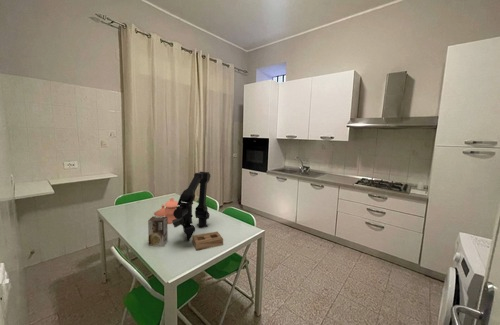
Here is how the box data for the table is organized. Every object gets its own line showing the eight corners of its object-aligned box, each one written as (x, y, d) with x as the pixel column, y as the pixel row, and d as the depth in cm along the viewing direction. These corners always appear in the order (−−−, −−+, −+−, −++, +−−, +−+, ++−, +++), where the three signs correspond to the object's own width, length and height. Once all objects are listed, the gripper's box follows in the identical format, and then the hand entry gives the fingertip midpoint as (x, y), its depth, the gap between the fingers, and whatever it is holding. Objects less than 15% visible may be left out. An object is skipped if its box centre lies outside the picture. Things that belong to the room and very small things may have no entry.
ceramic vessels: (145, 214, 167) (145, 192, 166) (171, 209, 181) (171, 189, 179) (159, 229, 141) (159, 202, 139) (187, 222, 155) (188, 198, 153)
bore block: (192, 241, 125) (192, 235, 125) (217, 237, 132) (217, 231, 132) (196, 250, 115) (196, 243, 115) (222, 245, 123) (223, 238, 122)
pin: (183, 240, 126) (184, 226, 125) (188, 239, 127) (188, 226, 127) (184, 242, 123) (184, 228, 122) (189, 242, 125) (189, 228, 124)
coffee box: (168, 241, 124) (168, 216, 123) (163, 247, 118) (163, 220, 116) (152, 241, 124) (152, 215, 122) (148, 246, 117) (147, 220, 116)
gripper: (171, 209, 128) (171, 233, 130) (175, 220, 112) (175, 247, 113) (189, 207, 133) (189, 230, 135) (195, 217, 117) (195, 243, 118)
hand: (186, 237), depth 125 cm, fingers open, 9 cm apart
